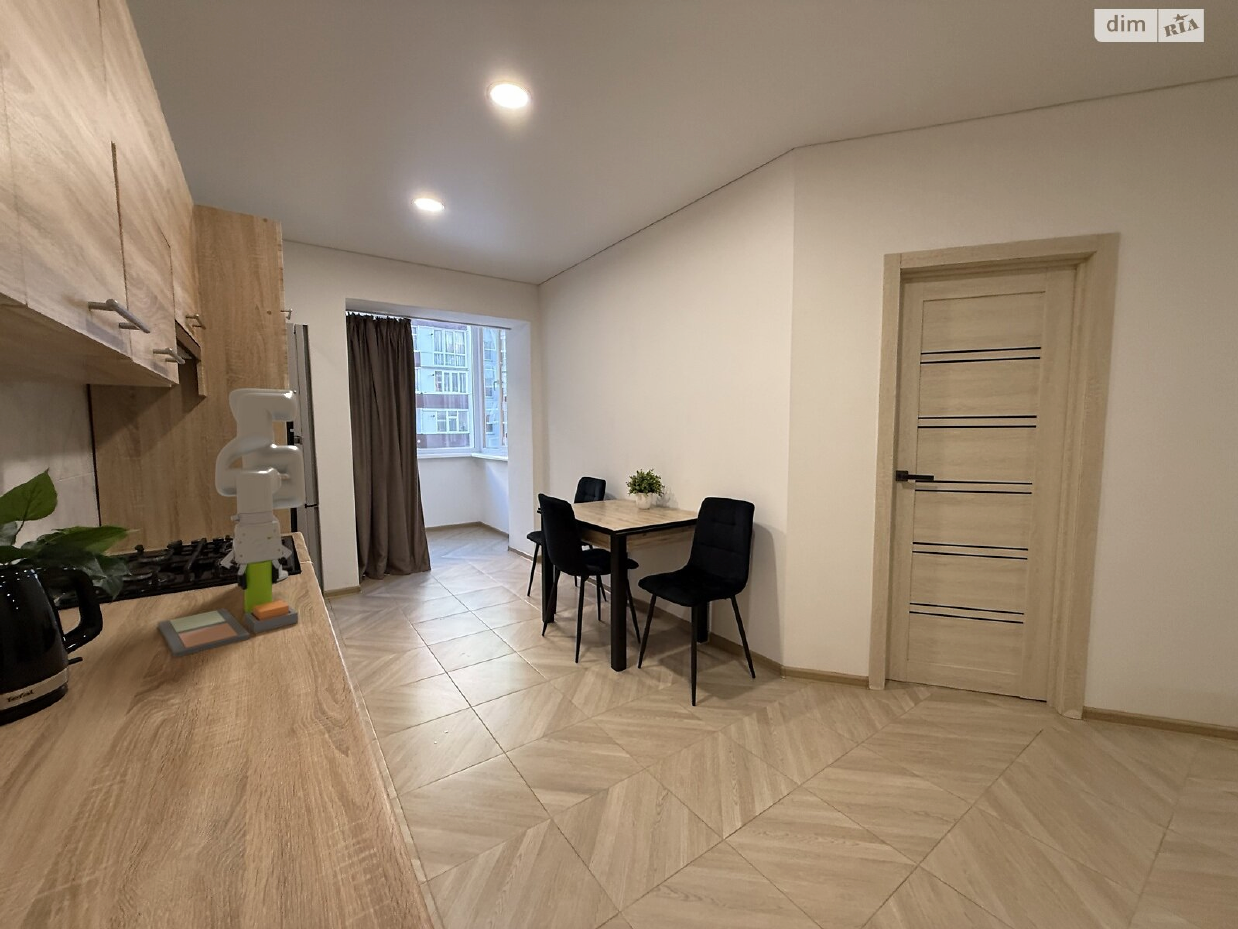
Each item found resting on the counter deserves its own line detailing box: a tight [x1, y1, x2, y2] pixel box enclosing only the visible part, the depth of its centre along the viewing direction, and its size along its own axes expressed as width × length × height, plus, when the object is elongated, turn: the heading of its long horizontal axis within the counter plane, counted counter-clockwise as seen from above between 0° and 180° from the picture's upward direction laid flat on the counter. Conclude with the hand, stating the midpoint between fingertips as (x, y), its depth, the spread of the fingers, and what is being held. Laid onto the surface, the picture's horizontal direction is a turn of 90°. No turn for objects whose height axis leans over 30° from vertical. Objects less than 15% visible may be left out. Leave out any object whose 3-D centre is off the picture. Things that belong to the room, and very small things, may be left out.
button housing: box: [243, 604, 299, 634], centre depth 125 cm, size 9×9×2 cm
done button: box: [253, 599, 290, 620], centre depth 125 cm, size 6×6×2 cm
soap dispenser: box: [244, 537, 273, 613], centre depth 133 cm, size 6×7×20 cm
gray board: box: [157, 608, 251, 658], centre depth 119 cm, size 24×13×1 cm, turn 48°
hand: (259, 584), depth 133 cm, fingers closed on soap dispenser, 6 cm apart
